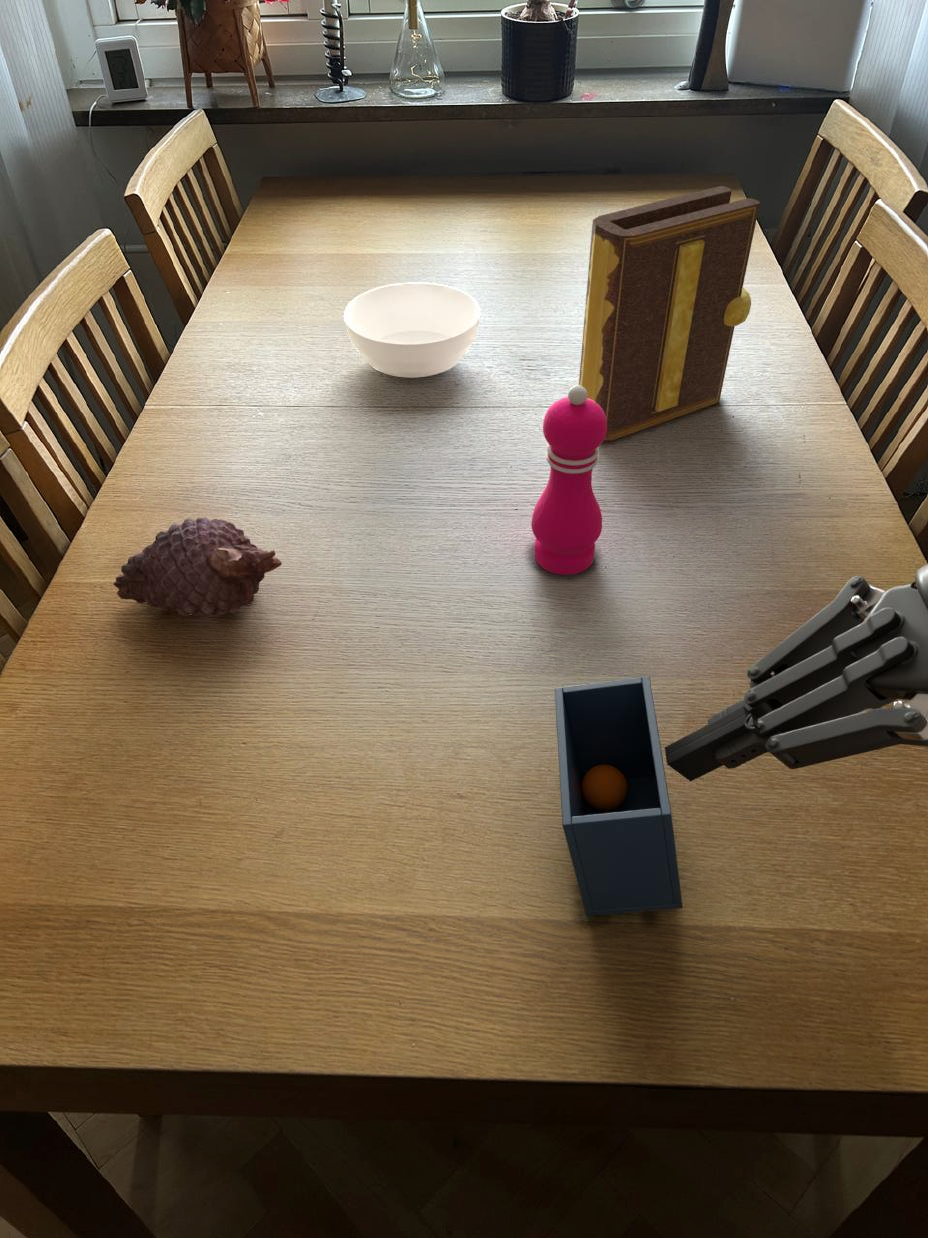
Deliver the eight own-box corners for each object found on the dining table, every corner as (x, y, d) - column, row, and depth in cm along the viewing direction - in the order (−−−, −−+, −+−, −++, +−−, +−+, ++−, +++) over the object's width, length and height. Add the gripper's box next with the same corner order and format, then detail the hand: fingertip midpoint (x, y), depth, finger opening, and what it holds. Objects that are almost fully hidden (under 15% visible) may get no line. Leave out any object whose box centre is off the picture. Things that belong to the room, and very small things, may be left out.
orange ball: (644, 786, 72) (613, 756, 72) (618, 823, 71) (587, 793, 71) (620, 781, 76) (590, 753, 75) (595, 817, 75) (565, 789, 74)
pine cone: (107, 646, 89) (75, 545, 87) (158, 620, 98) (130, 529, 96) (276, 614, 85) (247, 507, 83) (312, 591, 94) (287, 494, 92)
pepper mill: (583, 529, 101) (600, 362, 87) (608, 571, 96) (631, 400, 82) (520, 541, 100) (527, 373, 86) (542, 584, 95) (554, 412, 81)
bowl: (327, 384, 124) (321, 333, 119) (376, 323, 137) (372, 275, 132) (458, 404, 120) (457, 352, 115) (496, 339, 133) (496, 290, 128)
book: (604, 449, 112) (628, 242, 95) (564, 417, 118) (579, 215, 100) (742, 400, 120) (786, 200, 103) (698, 372, 126) (734, 177, 108)
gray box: (661, 773, 76) (649, 675, 68) (682, 908, 67) (671, 814, 59) (576, 783, 77) (554, 687, 69) (586, 916, 68) (562, 825, 60)
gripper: (1090, 710, 50) (724, 867, 62) (998, 555, 60) (695, 718, 72) (1031, 640, 47) (655, 821, 59) (943, 487, 56) (634, 670, 68)
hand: (677, 764), depth 65 cm, fingers closed
